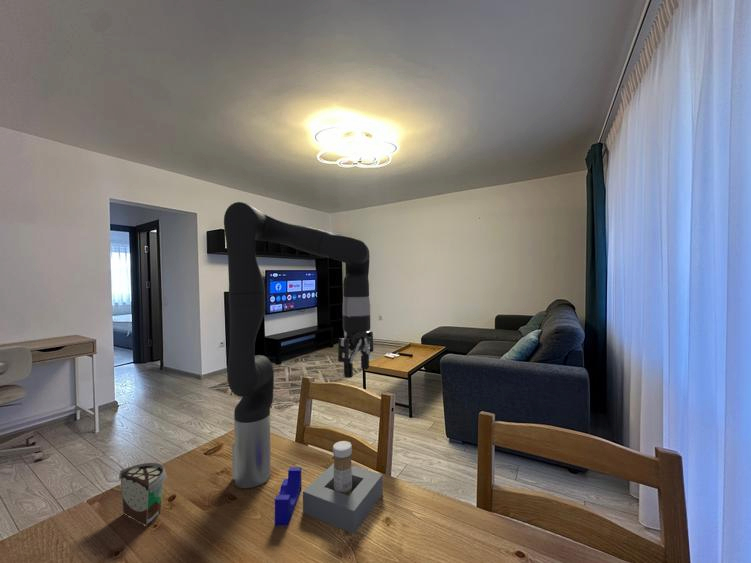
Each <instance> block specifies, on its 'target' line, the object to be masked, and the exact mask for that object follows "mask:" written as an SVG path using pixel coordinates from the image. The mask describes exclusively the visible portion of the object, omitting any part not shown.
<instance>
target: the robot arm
mask: <svg viewBox="0 0 751 563" xmlns="http://www.w3.org/2000/svg"><path fill="white" fill-rule="evenodd" d="M223 226H224V236H225V244H226V248H227V264H228V266H227V267H228V268H227V270H228V272H227V274H228V307H229V308H228V309H229V350H228V360H227V374H226V375H227V383H228V386H229V387H228V388H229V389H230V391H231V392H232V393H233V395H234V396H237V397H241V399H240V401H239V402H238V403H237V404H236V406H235V407H234V412H233V414H234V415H233V416H234V421H233V422H234V425H233V426H234V429H233V431H234V443H232V448H231V449H232V450H231V452H232V453H231V454H232V457H231V460H232V480H234V483H235V484H234V485H235V486H237V487H238V488H242V489H253V488H256V487H258V486H261V485H262V484H264V483H266V482H267V481H268V480H269V479H270V477H271V472H272V470H271V457H272V456H271V408H272V404H273V402H274V401H273V400H274V389H275V388H274V386H275V383H274V382H275V380H274V379H275V378H274V377H275V375H274V374H275V372H274V367H273V363H272V362H271V360H270V359H269V357H267V356H265V355H261V354H257V355H256V354H255V348H256V347H255V346H256V339H257V335H258V332H259V330H260V328H261V324H262V322H263V319H264V316H265V313H266V287H265V282H264V278H263V275H262V272H261V269H260V267H259V264H258V261H257V257H256V241H260V242H261V241H262V242H270V243H276V244H280V245H284V246H287V247H290V248H293V249H295V250H298V251H302V252H304V253H308V254H311V255H314V256H318V257H321V258H327V259H328V258H329V259H333V260H334V261H335V260H336V261H339V262H342V263H344V264H345V268H344V269H345V275H344V278H343V284H342V285H343V286H342V288H343V290H342V291H343V293H342V294H343V297H342V298H343V299H342V330H343V331H344V332H345V333H346V336H345V338H344V337H342V338H341V337H340V338H339V339H338V348H337V349H338V350H337V351H338V354H337V360H338V363H339V362H340V363H343V374H344V378H349V379H351V378H353V376H354V364H353V361H354V358H355V356H357V354H358V352H359V353H360V357H361V358H360V361H361V362H360V368H361V369H362V370H368V369H370V356H371V353H373V352H374V337H373V336H374V334H373V331H371V301H370V281H369V274H370V273H369V272H370V271H369V270H370V250H369V247H368V246H367V245H366V243H365V242H364V241H363V240H361V239H359V238H355V237H352V236H347V235H340V234H335V233H333V232H330V231H326V230H323V229H318V228H316V227H311V226H307V225H303V224H302V225H301V224H294V223H288V222H285V221H282V220H278V219H277V218H274V217H272V216H269V215H268V214H265V213H264V212H262V211H261V210H260V209H258V208H257V207H254V206H253V205H250V204H248V203H245V202H241V201H237V202H233V203H231V204H229V206H228V207H227V208H226V211H225V213H224V217H223Z"/></svg>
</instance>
